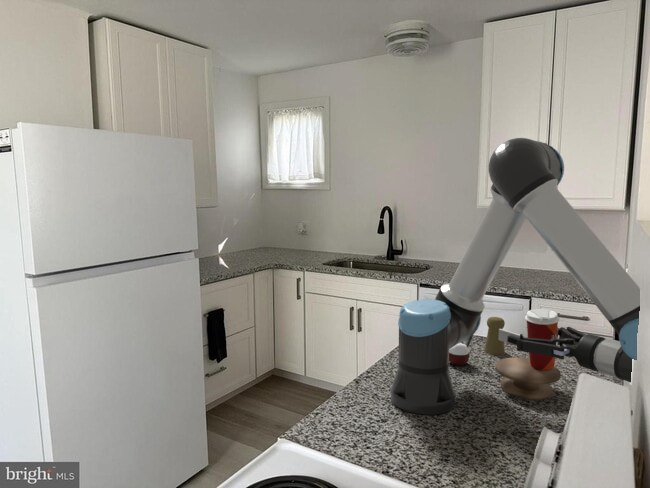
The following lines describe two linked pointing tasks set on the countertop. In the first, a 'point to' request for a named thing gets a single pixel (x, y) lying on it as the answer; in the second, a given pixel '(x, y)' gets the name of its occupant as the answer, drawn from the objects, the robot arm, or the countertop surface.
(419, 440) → the countertop surface
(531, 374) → the pedestal stand
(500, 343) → the cork
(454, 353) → the cocoa
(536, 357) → the paper cup
